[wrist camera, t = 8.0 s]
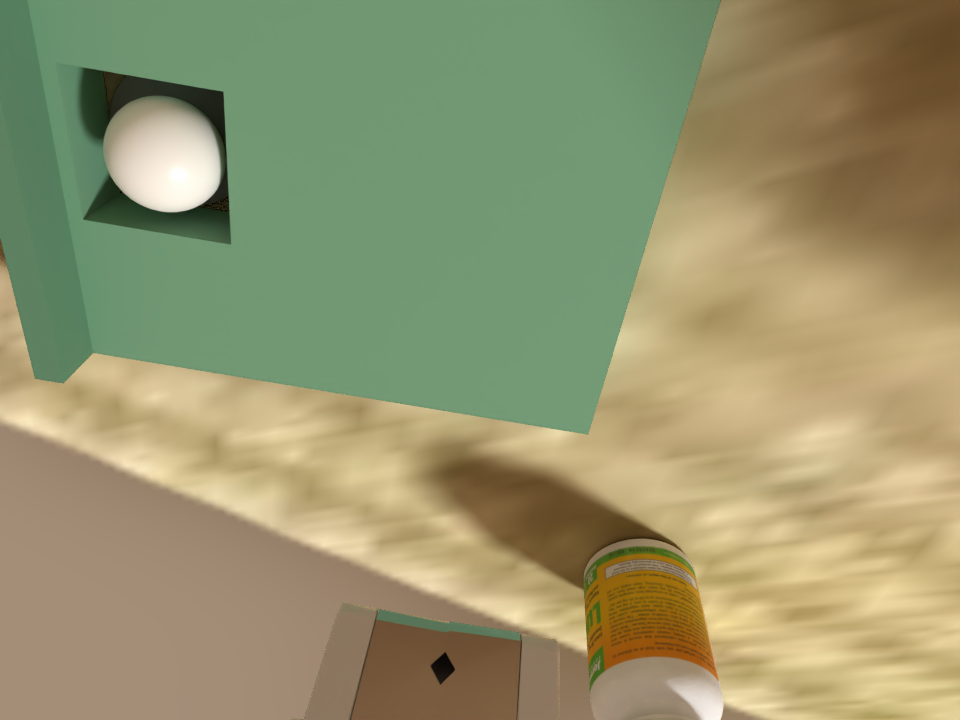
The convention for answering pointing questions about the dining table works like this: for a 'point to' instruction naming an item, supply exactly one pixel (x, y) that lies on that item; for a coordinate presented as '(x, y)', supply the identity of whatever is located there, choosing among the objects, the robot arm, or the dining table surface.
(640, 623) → the supplement bottle
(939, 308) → the dining table surface
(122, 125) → the ball
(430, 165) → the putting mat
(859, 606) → the dining table surface
